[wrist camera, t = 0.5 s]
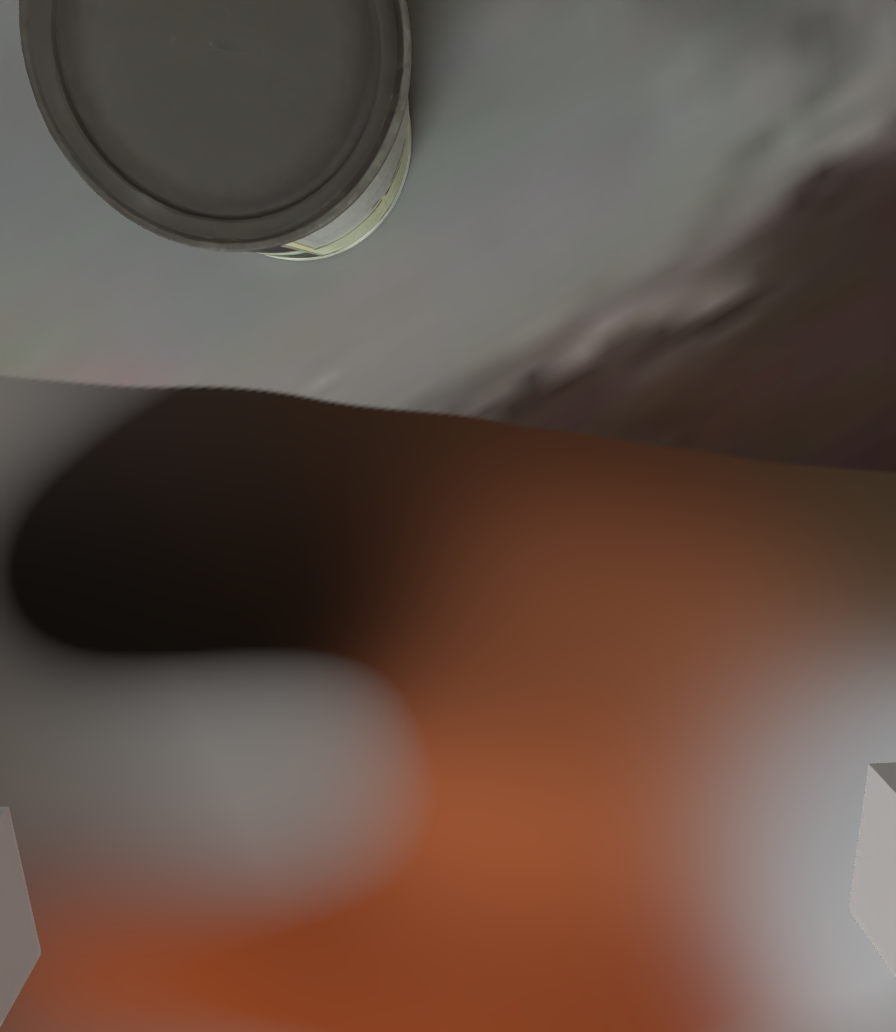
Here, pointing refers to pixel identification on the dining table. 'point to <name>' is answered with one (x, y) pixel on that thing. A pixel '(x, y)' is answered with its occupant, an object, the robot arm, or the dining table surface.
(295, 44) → the coffee can
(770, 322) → the dining table surface
